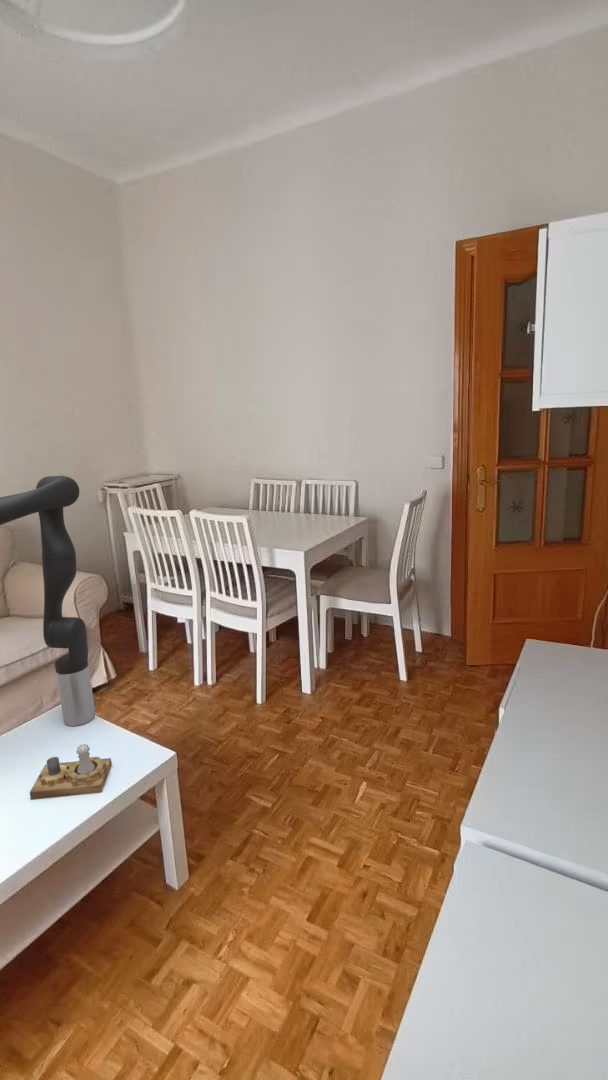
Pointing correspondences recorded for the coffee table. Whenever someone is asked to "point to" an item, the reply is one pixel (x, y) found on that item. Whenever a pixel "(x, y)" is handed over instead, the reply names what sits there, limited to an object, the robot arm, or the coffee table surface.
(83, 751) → the rook chess piece
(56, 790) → the gear board
